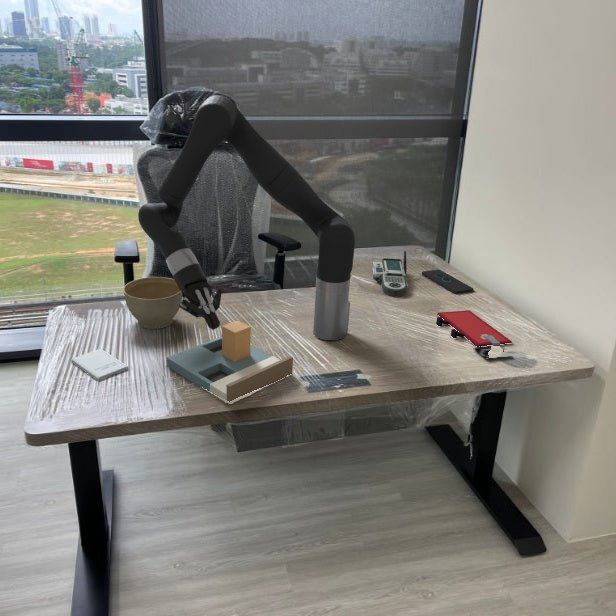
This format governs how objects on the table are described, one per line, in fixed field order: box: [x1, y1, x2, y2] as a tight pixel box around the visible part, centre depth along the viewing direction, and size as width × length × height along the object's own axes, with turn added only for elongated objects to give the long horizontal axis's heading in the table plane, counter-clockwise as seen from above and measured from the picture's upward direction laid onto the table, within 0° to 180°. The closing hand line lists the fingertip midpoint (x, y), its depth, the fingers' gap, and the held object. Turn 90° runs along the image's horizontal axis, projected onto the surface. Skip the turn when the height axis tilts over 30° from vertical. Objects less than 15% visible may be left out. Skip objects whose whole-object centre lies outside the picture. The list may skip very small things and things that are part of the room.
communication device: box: [372, 250, 409, 297], centre depth 206 cm, size 12×24×9 cm, turn 178°
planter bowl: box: [123, 276, 183, 330], centre depth 169 cm, size 16×16×11 cm
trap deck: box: [166, 335, 294, 402], centre depth 147 cm, size 20×24×5 cm
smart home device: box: [421, 268, 474, 295], centre depth 211 cm, size 8×2×20 cm
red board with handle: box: [435, 310, 513, 360], centre depth 173 cm, size 30×3×15 cm
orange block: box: [221, 320, 252, 362], centre depth 149 cm, size 5×5×8 cm
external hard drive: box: [70, 348, 129, 382], centre depth 148 cm, size 2×8×12 cm
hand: (216, 327), depth 154 cm, fingers closed
